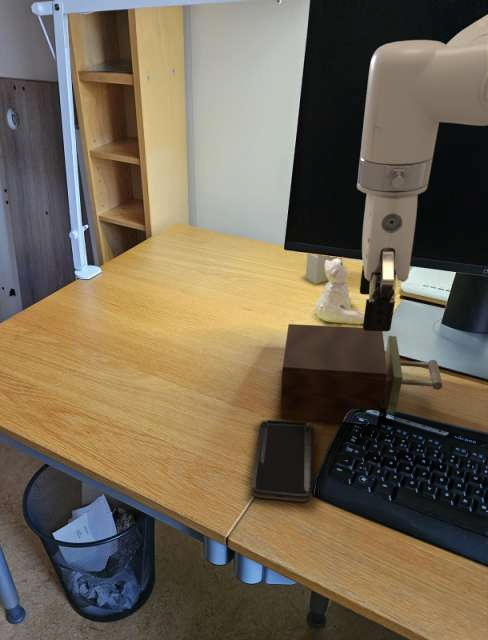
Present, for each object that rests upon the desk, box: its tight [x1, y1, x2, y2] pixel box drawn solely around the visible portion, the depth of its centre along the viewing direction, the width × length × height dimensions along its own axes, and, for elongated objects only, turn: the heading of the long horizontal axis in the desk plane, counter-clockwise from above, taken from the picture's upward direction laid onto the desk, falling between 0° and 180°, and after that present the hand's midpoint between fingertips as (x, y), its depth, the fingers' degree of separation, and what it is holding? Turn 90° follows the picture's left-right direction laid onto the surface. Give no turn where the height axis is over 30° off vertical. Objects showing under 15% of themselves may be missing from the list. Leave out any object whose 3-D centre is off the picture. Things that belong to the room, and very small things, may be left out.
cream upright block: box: [305, 253, 343, 285], centre depth 122 cm, size 4×7×10 cm, turn 118°
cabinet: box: [279, 323, 388, 424], centre depth 87 cm, size 15×13×10 cm
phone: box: [251, 419, 314, 503], centre depth 79 cm, size 8×1×15 cm
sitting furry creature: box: [314, 258, 365, 325], centre depth 107 cm, size 10×9×12 cm
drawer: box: [383, 335, 444, 413], centre depth 86 cm, size 20×11×8 cm, turn 78°
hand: (373, 310), depth 72 cm, fingers open, 9 cm apart
